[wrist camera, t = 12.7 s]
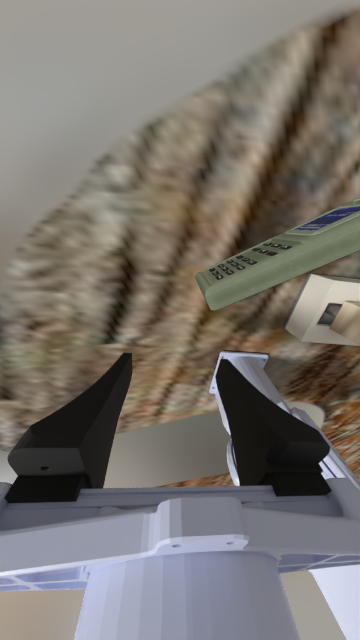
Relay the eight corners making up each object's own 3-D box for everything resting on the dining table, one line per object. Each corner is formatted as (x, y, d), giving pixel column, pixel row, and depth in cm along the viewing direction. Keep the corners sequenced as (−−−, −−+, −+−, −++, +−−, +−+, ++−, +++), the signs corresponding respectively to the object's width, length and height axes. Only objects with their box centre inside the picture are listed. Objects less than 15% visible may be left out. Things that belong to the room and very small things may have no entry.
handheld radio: (192, 270, 20) (421, 162, 16) (201, 293, 22) (412, 199, 18) (201, 288, 15) (559, 128, 11) (213, 317, 16) (528, 187, 12)
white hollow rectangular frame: (415, 285, 22) (457, 294, 19) (376, 334, 26) (406, 349, 23) (308, 273, 21) (334, 280, 18) (283, 327, 25) (300, 341, 21)
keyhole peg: (330, 319, 24) (396, 354, 17) (302, 317, 23) (356, 351, 16) (347, 290, 22) (429, 315, 15) (316, 287, 21) (385, 311, 14)
